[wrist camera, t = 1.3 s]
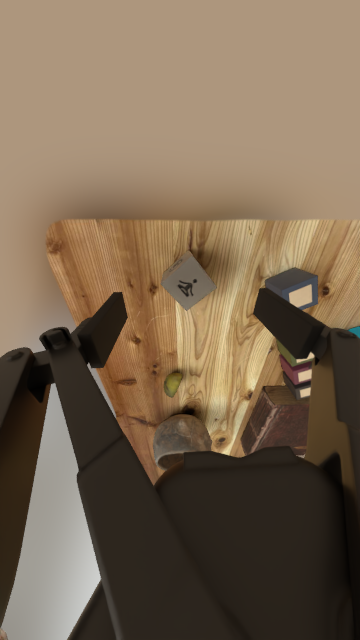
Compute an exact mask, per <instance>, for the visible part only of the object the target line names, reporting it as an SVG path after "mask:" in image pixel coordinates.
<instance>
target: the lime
mask: <svg viewBox="0 0 360 640" xmlns="http://www.w3.org/2000/svg"><path fill="white" fill-rule="evenodd" d="M182 377H183V375H182V374H180V373H172V374H169V375H168V376H167V377H166V379H165V382H164V391H165V393H166V394H167V395H168V396H169V397H171V398H172V397H174V395H175V393H176V392H177V389H178V387H179V384H180V382H181V380H182Z"/></svg>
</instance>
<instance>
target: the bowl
mask: <svg viewBox="0 0 360 640" xmlns="http://www.w3.org/2000/svg"><path fill="white" fill-rule="evenodd" d="M211 444H212V440H211V438H210V435H209V433H208V431H207V429H206V427H205V425H204V424H203V423H202V422H201V420H199V419H198V418H197V417H195V416H192V415H188V414H179V415H174V416H172V417H170V418H168V419H167V420H165V421H163V422H162V423H161V424H160V425H159V427H158V428H157V430H156V432H155V436H154V440H153V449H154V457H155V461H156V465H157V466H158V467H159V468H161V469H162V470H165V471H166V470H167V469H169V468H170V467H171V466H173V465H174V464H176V463H177V462H180V461H182V460H183V452H196V451H211Z"/></svg>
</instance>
